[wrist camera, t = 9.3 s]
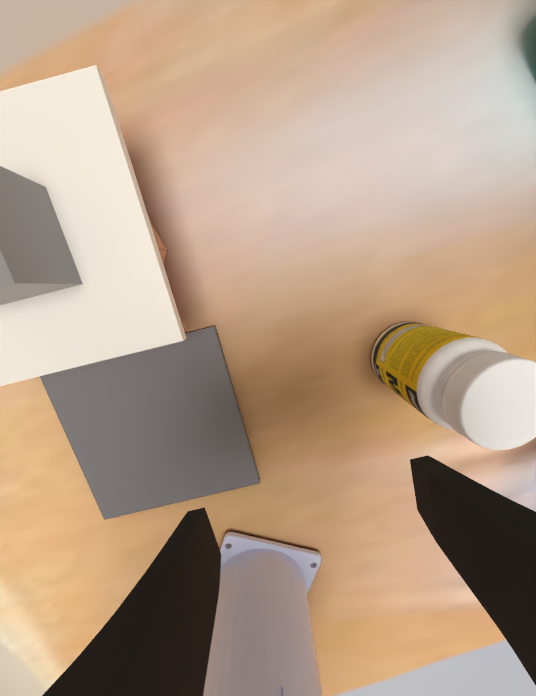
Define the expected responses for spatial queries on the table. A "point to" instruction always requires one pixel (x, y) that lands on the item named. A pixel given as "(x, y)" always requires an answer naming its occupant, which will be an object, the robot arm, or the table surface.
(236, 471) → the mat
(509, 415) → the supplement bottle
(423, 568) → the table surface
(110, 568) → the table surface
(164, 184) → the table surface
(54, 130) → the lid
